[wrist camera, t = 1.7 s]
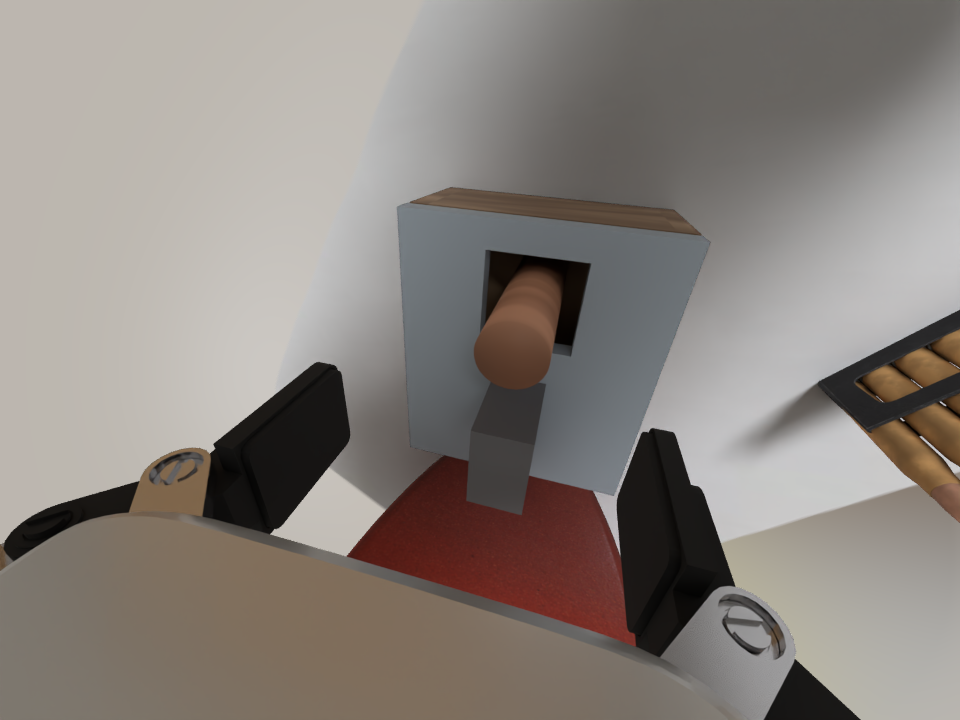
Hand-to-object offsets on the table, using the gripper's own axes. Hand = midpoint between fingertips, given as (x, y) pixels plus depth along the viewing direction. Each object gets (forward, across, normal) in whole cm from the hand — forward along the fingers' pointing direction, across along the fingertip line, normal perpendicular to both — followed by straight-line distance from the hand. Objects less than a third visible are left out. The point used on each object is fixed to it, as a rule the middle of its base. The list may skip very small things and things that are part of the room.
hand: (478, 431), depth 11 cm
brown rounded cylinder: (+16, 0, -1) cm, 16 cm away
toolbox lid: (+10, 0, +3) cm, 11 cm away
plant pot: (+18, 0, +24) cm, 30 cm away
